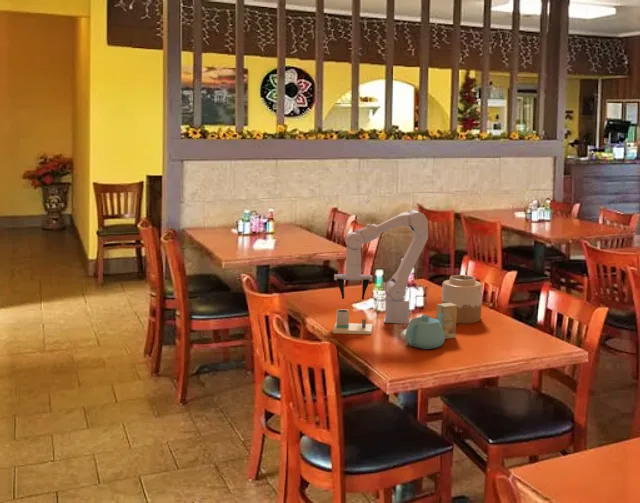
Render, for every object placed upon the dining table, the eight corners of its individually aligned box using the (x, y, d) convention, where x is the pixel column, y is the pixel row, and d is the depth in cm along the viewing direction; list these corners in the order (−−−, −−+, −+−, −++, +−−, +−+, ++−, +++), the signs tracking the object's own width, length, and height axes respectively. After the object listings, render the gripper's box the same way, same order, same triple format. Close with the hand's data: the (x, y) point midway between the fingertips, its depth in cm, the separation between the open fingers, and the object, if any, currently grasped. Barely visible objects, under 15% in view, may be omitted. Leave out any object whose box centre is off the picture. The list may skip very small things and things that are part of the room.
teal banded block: (348, 324, 281) (348, 309, 280) (348, 328, 276) (348, 312, 275) (336, 324, 281) (336, 309, 280) (336, 328, 276) (336, 312, 275)
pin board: (372, 327, 282) (372, 316, 281) (371, 334, 272) (371, 323, 272) (335, 325, 284) (335, 315, 283) (333, 333, 274) (333, 321, 273)
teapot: (458, 314, 259) (423, 323, 248) (457, 344, 261) (422, 354, 250) (431, 307, 269) (396, 315, 257) (430, 336, 271) (395, 345, 259)
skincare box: (442, 339, 266) (443, 306, 264) (434, 336, 270) (435, 304, 267) (456, 337, 269) (457, 304, 267) (449, 334, 272) (450, 302, 270)
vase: (464, 326, 284) (465, 283, 281) (433, 318, 295) (434, 276, 292) (488, 319, 294) (490, 277, 291) (457, 311, 305) (459, 271, 302)
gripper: (372, 262, 288) (372, 296, 290) (335, 261, 290) (335, 295, 292) (371, 266, 281) (371, 301, 284) (333, 265, 283) (333, 299, 285)
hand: (353, 298), depth 287 cm, fingers open, 7 cm apart
